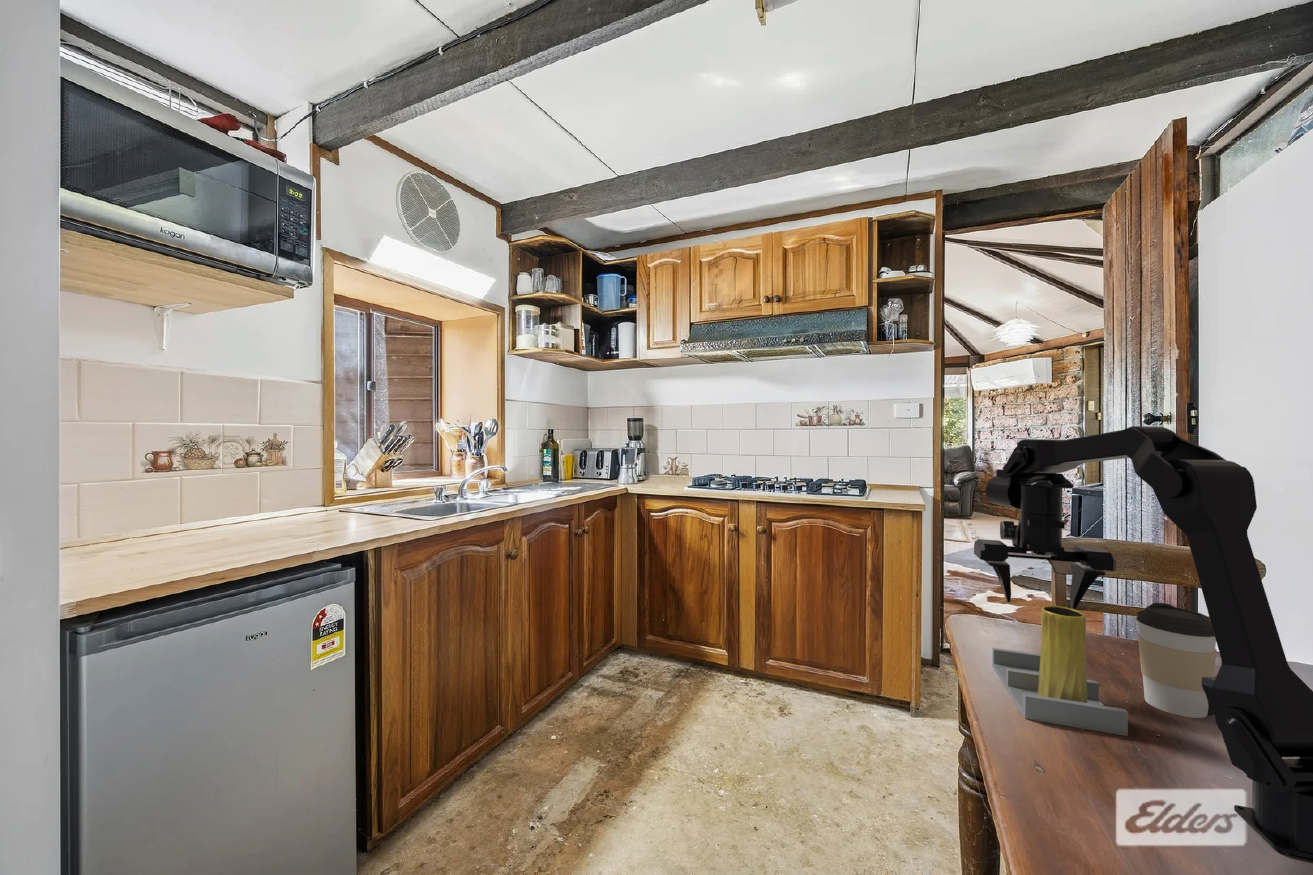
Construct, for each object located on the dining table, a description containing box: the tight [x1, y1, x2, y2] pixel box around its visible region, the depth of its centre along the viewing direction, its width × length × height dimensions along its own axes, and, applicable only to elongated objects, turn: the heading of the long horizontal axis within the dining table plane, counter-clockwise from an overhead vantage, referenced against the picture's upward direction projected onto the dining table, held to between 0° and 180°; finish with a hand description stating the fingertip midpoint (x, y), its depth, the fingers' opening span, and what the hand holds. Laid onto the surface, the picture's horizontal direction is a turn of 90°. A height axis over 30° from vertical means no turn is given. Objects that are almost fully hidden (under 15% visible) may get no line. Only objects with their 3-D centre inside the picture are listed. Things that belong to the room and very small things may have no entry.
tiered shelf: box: [991, 647, 1129, 737], centre depth 83 cm, size 19×12×3 cm, turn 159°
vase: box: [1038, 605, 1087, 703], centre depth 79 cm, size 6×6×14 cm
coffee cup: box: [1135, 602, 1218, 719], centre depth 80 cm, size 9×9×15 cm
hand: (1039, 604), depth 88 cm, fingers open, 9 cm apart
